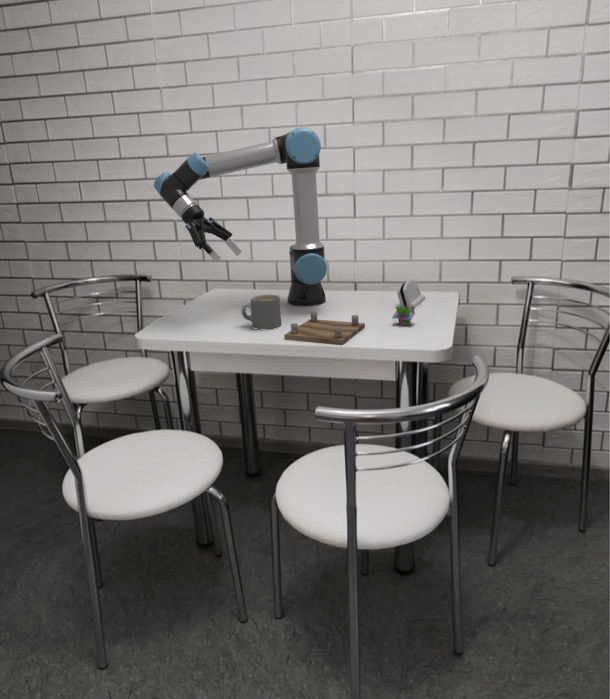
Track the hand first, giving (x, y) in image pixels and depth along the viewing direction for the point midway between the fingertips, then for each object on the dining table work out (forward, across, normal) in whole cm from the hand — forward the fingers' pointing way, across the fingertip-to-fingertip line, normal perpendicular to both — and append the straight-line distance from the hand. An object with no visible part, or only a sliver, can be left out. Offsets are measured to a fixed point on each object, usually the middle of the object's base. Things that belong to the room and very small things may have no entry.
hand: (229, 256), depth 207 cm
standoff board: (+42, +2, +9) cm, 43 cm away
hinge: (+54, -43, +20) cm, 72 cm away
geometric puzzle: (+57, -15, +24) cm, 64 cm away
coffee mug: (+25, 0, -9) cm, 27 cm away
